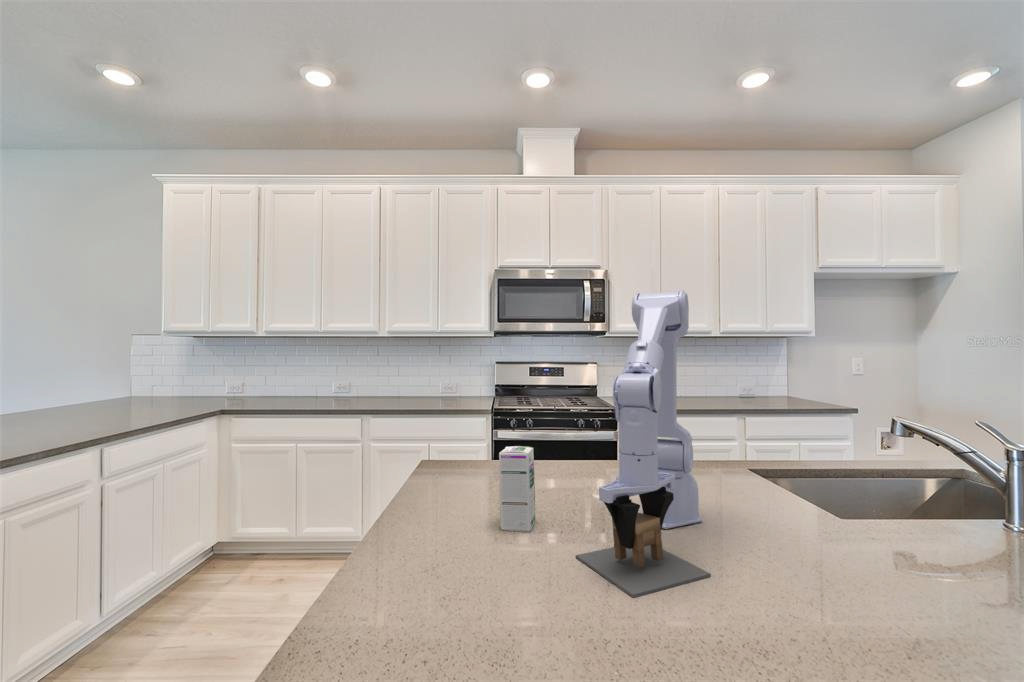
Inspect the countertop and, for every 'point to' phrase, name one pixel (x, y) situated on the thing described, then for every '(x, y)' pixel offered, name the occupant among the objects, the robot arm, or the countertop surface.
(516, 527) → the syrup box
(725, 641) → the countertop surface
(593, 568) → the mat
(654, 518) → the notched brown block
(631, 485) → the robot arm
